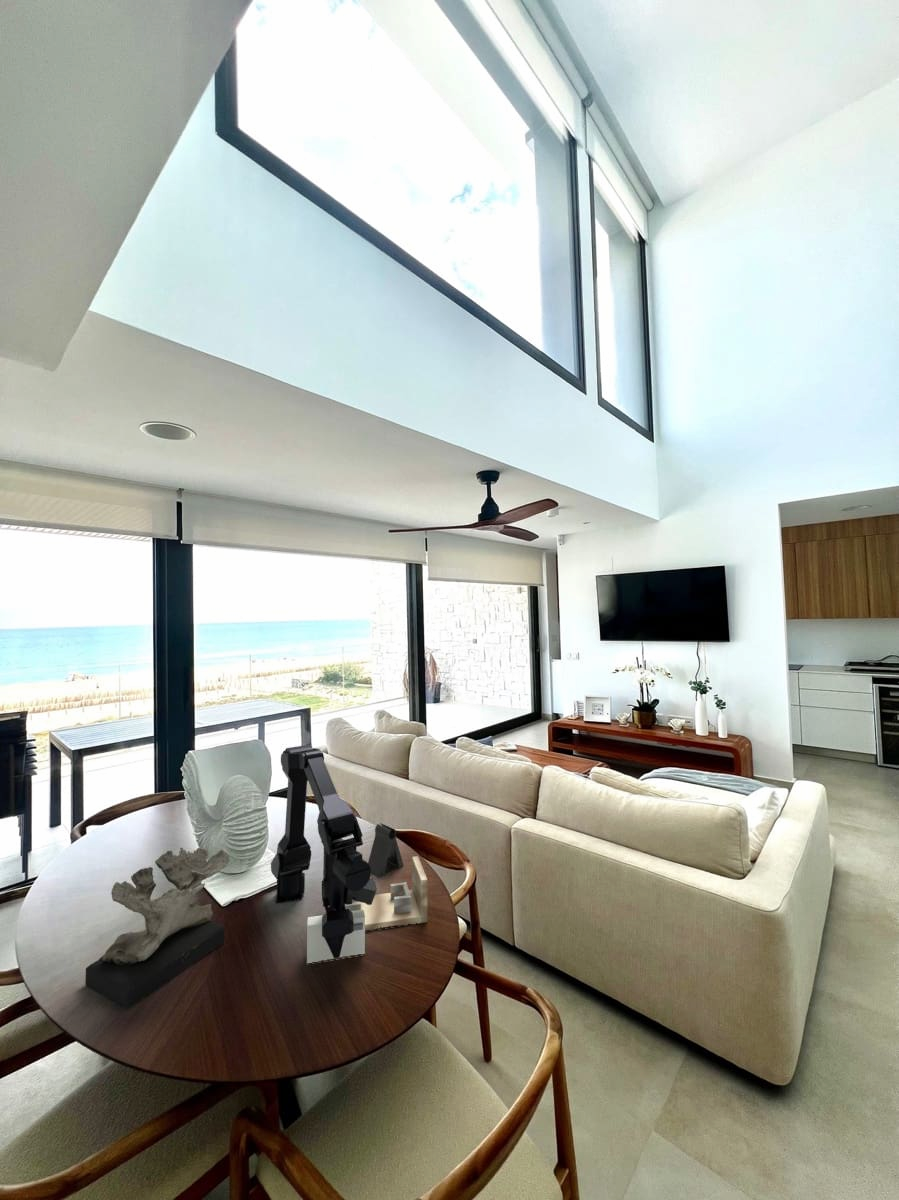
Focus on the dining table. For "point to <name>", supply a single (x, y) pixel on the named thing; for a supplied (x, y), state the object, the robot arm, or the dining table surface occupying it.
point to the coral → (159, 929)
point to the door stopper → (384, 851)
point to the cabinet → (397, 903)
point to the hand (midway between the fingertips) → (336, 943)
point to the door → (351, 943)
